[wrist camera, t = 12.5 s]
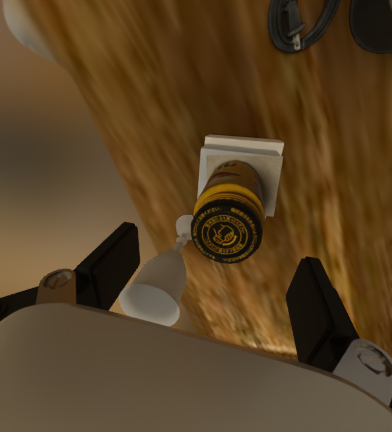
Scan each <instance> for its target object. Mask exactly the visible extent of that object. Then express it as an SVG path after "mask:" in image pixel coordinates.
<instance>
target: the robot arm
mask: <svg viewBox="0 0 392 432" xmlns="http://www.w3.org/2000/svg"><path fill="white" fill-rule="evenodd" d="M139 264H140V254H139V241H138V229H137V227H136V226H135V224H134V223H129V222H124V223H122V224H121V225H120V226H119V227H118V228H117V229H116V230H115V231H114V232H113V233H112V234H111V235H110V236H109V237H108V238H107V239H105V240H104V241H103V242H102V243H101V244H100V245H99V246H98V247H97V248H96V249H95V250H94V251H93V252H92V253H91V254H90V255H89V256H87V257H86V258H85V259H84V260H83V261H82V262H81V263H80V264H79V265H78V266H77V267H76V268H75V269H74V270H70V269H59V270H55V271H53V272H51V273H49V274H47V275H46V276H44V277H43V279H42V280H41V281H40V283H39V286H38V287H35V288H31V289H28V290H25V291H21V292H18V293H15V294H12V295H8V296H5V297H2V298H0V432H392V358H391V357H390V356H389V355H388V354H387V353H386V352H385V351H384V350H382V349H381V348H380V347H378V346H377V345H375V344H374V343H372V342H369V341H367V340H363V339H360V338H359V336H358V334H357V332H356V330H355V328H354V326H353V324H352V322H351V320H350V317H349V315H348V313H347V311H346V309H345V307H344V305H343V303H342V301H341V299H340V297H339V295H338V293H337V291H336V289H335V288H333V286H332V284H331V282H330V280H329V278H328V276H327V274H326V272H325V270H324V268H323V265H322V263H321V261H320V260H319V259H318V258H313V257H308V256H307V257H305V259H303V258H302V259H301V261H300V263H299V265H298V268H297V270H296V272H295V275H294V277H293V279H292V282H291V284H290V286H289V289H288V291H287V294H286V301H287V306H288V311H289V316H290V321H291V326H292V331H293V336H294V341H295V345H296V350H297V355H298V360H299V362H297V361H293V360H290V359H287V358H283V357H280V356H276V355H273V354H269V353H265V352H262V351H258V350H254V349H251V348H247V347H243V346H240V345H236V344H232V343H229V342H225V341H221V340H218V339H214V338H210V337H206V336H203V335H199V334H195V333H191V332H188V331H184V330H180V329H176V328H172V327H169V326H165V325H161V324H157V323H153V322H150V321H146V320H142V319H138V318H134V317H130V316H126V315H123V314H119V313H114V312H111V311H109V309H110V308H111V306H112V305H113V303H114V302H115V300H116V299H117V297H118V296H119V294H120V293H121V292H122V290H123V289H124V287H125V285H126V284H127V283H128V281H129V280H130V278H131V277H132V275H133V274H134V272H135V271H136V269H137V268H138V266H139Z"/></svg>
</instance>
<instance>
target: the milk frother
mask: <svg viewBox="0 0 392 432" xmlns="http://www.w3.org/2000/svg"><path fill="white" fill-rule="evenodd" d="M339 3H340V0H327V2H326V5H325V8H324V10H323V13H322V15H321V17H320V19H319V20H318V22H317V24H316V25H315V26H314V28H313V29H312V30H311V31H310V32H309V33H308V34H307V35H306V36H304V37H303V38H300V32H301V30H302V29H303V28H304V27H306V23H302V19H301V15H300V12H299V9H298V0H271V2H270V7H269V13H268V29H269V34H270V37H271V40H272V42H273V43H274V45H275V46H276V47H277V48H278V49H279V50H281V51H284V52H297V51H300V50H302V49H304V48H306V47H307V46H309V45H311V44H312V43H314V42H315V41H316V40H317V39H318V38H320V37H321V35H322V34H323V33H324V32H325V30H326V29H327V27H328V25H329V24H330V22H331V20H332V19H333V17H334V15H335V13H336V11H337V8H338V5H339ZM281 12H282V13H283V28H284V31H283V30H282V25H281ZM350 26H351V30H352V34H353V36H354V38H355V40H356V41H357V42H358V44H359V45H360V46H362V47H363V48H364V49H366V50H368V51H370V52H373V53H382V54H383V53H392V0H352V2H351V7H350Z"/></svg>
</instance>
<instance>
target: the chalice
mask: <svg viewBox="0 0 392 432" xmlns="http://www.w3.org/2000/svg"><path fill="white" fill-rule="evenodd" d="M192 220H193V216H192V215H183V216H181V217H179V219H178V220H177V222H176V230H177V234H178V235H179V237H178V238H177V244H175V245H174V246H173V248H174V250H168V251H166V252H164V253H161V254H159V255H157V256H155V257H154V258H153V259H151V260H149V261H148V262H147V263H146V264H145V265H144V266H143V267H142V269H141V271H140V272H139V274H138V275H137V277H136V278H135V279H134V281H133V282H132V284H131V285H129V286H127V287H125V288H124V289H123V290H122V292H121V293H120V295H119V303H120V306H121V307H122V309H123V311H124V312H125V313H126V314H127V315H128V316H130V317H134V318H138V319H142V320H146V321H150V322H153V323H157V324H161V325H165V326H171V325H172V324H174V323H176V321H177V320H178V318H179V311H180V310H179V302H180V299H181V296H182V293H183V291H184V288H185V285H186V279H187V277H186V267H185V264H184V260H183V257H182V255H181V253H180V252H181V251H183V245H186V243H187V240H192V237H191V221H192Z"/></svg>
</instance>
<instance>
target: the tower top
mask: <svg viewBox="0 0 392 432" xmlns="http://www.w3.org/2000/svg"><path fill="white" fill-rule="evenodd" d="M207 155H232V156H280V154H279V153H278V152H277V150H267V149H257V148H247V147H237V146H227V145H217V144H208V143H207V144H206V145H204V146H203V147H202V148H201V157H200V171H199V184H198V198H199V196H200V194H201V192H202V191H203V189H204V187H205V186H206V184H207ZM198 198H197V200H198ZM265 218H266V216H265Z"/></svg>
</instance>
